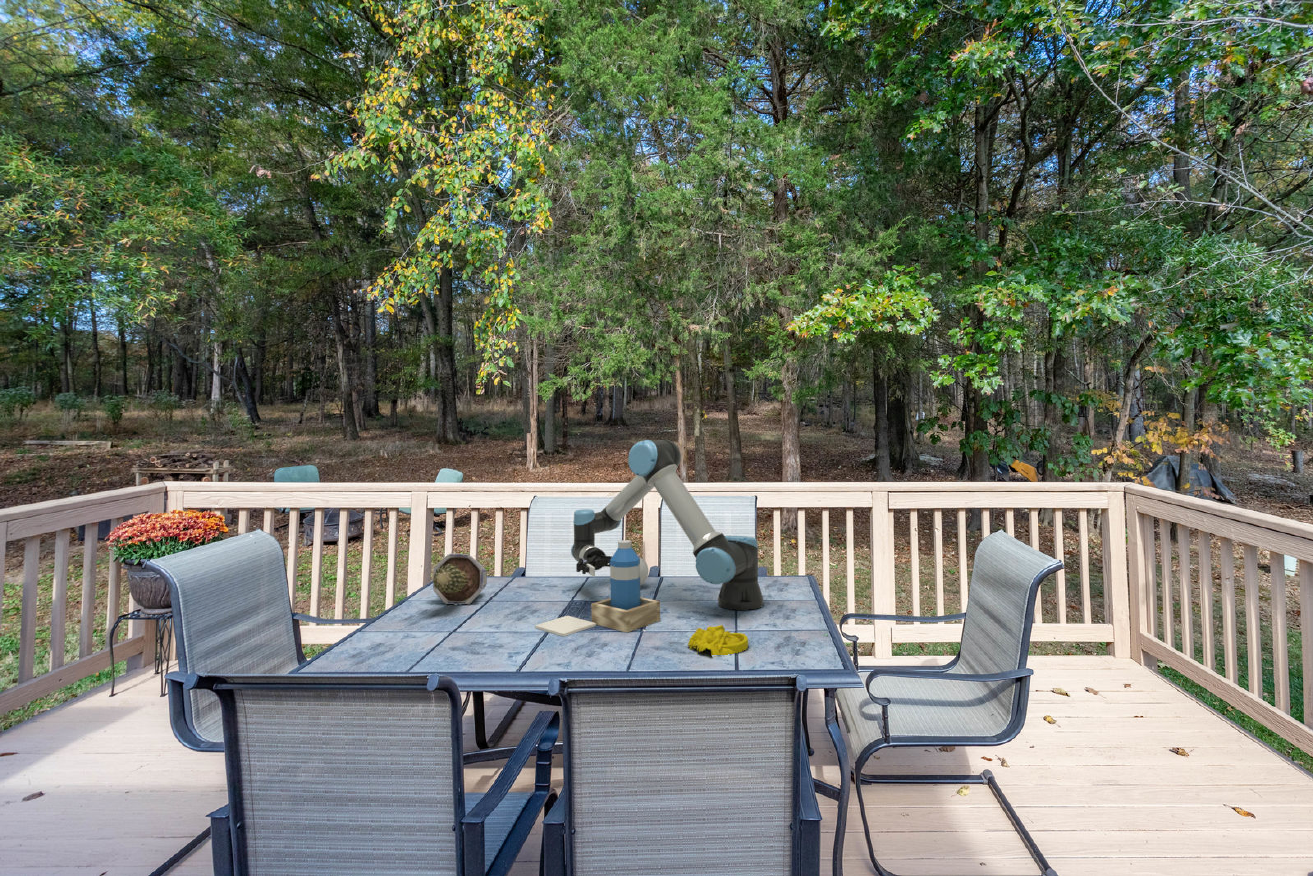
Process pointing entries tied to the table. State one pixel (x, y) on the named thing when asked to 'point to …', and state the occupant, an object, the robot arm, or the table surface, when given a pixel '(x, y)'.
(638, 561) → the water bottle
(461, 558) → the potted plant
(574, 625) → the plate
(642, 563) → the decorative ball
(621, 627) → the holder collar
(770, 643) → the table surface
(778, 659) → the table surface
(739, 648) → the door knocker
